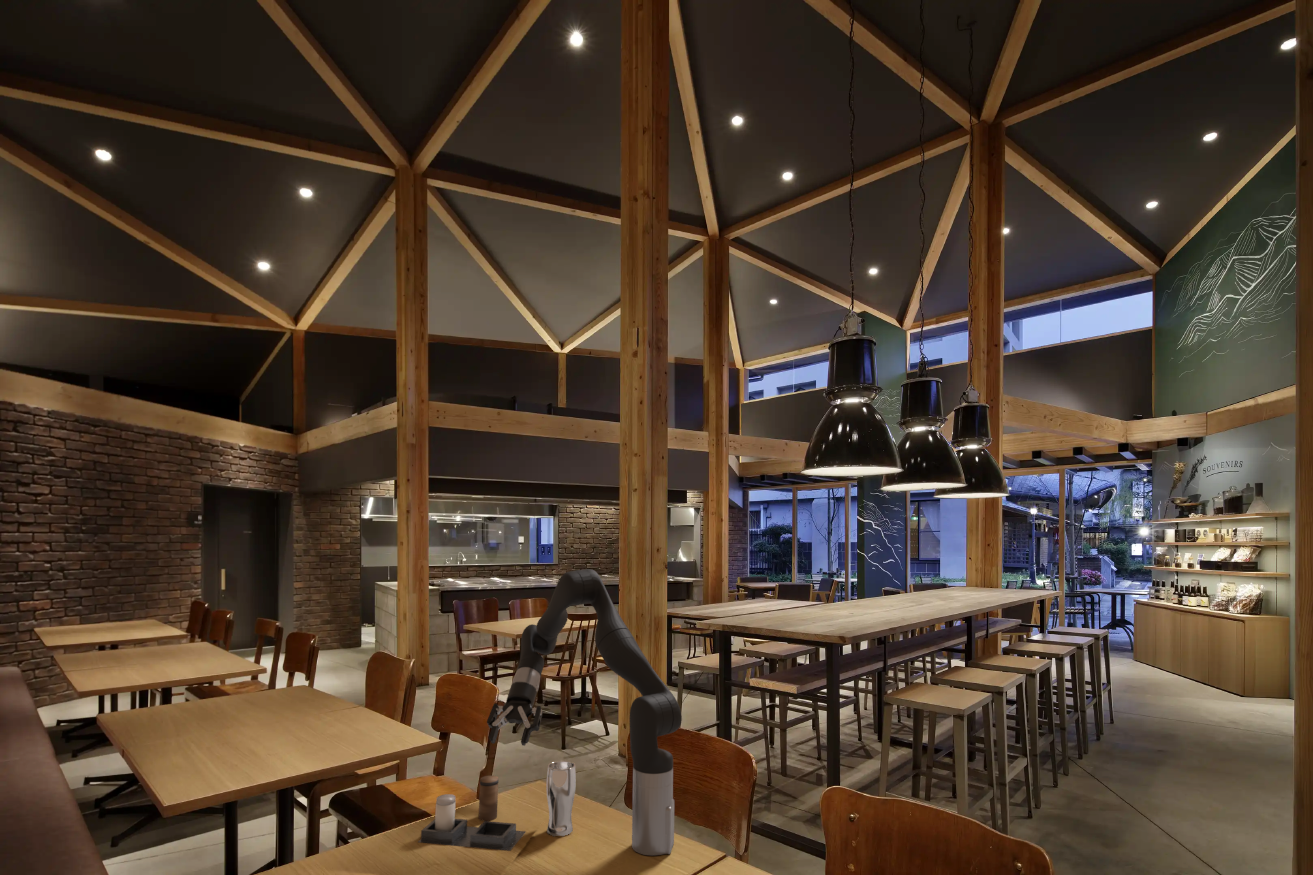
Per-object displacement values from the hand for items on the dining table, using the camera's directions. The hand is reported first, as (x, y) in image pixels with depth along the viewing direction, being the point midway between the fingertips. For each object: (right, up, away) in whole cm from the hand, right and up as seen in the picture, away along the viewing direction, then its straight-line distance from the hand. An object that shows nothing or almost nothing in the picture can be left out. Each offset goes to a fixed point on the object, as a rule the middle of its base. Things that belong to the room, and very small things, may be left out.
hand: (507, 742), depth 185 cm
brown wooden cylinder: (-2, -14, -13) cm, 19 cm away
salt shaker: (-10, -11, -23) cm, 27 cm away
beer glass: (+16, -13, -18) cm, 28 cm away
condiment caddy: (-3, -12, -24) cm, 27 cm away
